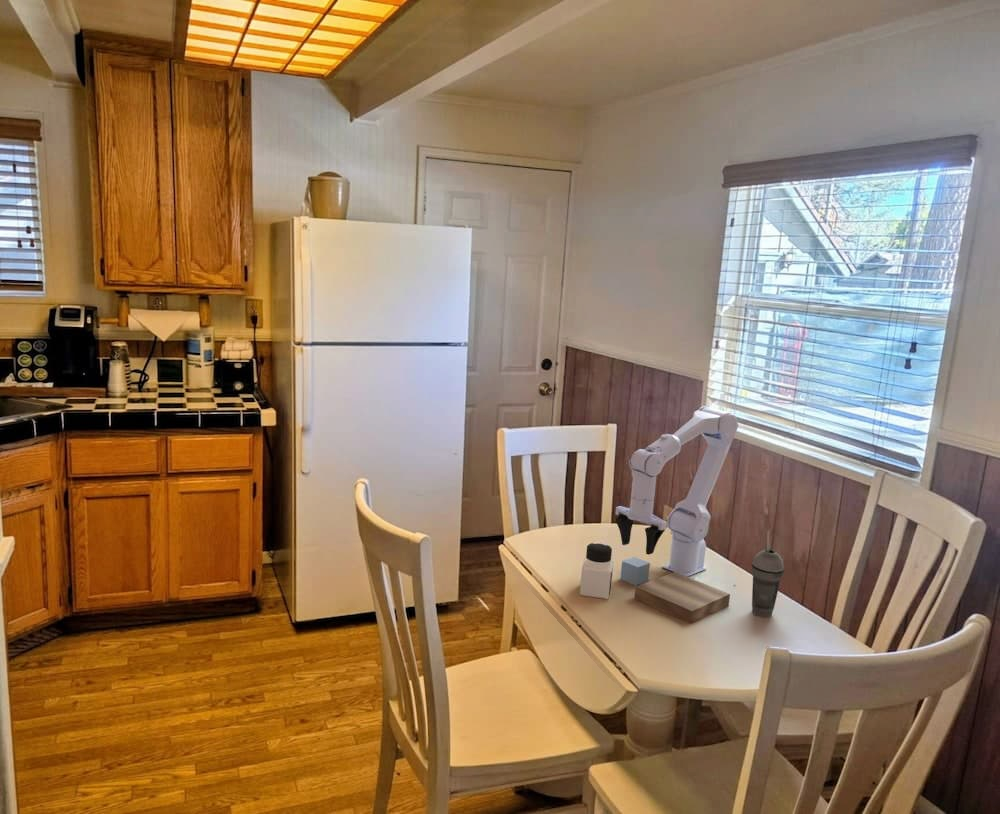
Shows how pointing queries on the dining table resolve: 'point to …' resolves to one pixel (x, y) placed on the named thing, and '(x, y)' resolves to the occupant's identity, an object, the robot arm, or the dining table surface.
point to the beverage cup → (766, 581)
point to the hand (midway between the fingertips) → (637, 548)
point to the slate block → (635, 571)
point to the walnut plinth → (682, 597)
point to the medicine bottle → (597, 571)
